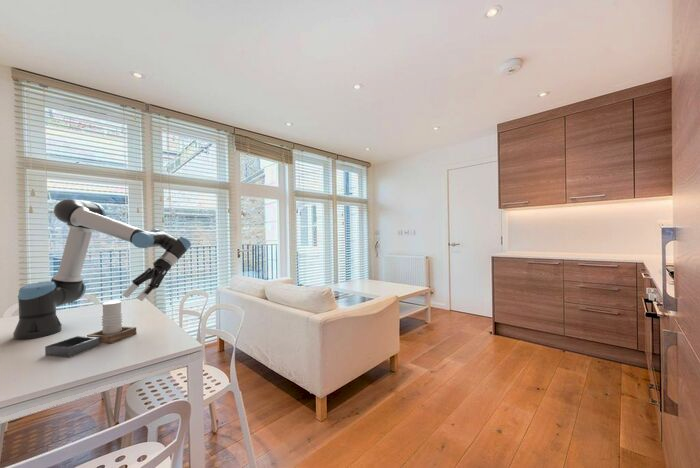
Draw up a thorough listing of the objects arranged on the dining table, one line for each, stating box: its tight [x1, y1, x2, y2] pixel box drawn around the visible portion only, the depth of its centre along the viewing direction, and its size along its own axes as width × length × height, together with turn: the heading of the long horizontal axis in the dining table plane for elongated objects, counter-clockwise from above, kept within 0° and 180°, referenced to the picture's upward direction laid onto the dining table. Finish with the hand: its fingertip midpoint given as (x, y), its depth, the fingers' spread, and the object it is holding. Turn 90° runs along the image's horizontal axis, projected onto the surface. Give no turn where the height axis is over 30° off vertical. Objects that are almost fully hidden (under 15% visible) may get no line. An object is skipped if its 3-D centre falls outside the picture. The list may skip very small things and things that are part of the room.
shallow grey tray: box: [44, 335, 100, 359], centre depth 113 cm, size 11×11×4 cm
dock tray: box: [86, 326, 137, 345], centre depth 127 cm, size 12×12×3 cm
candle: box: [101, 300, 123, 336], centre depth 127 cm, size 7×7×15 cm
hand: (131, 297), depth 133 cm, fingers open, 13 cm apart
